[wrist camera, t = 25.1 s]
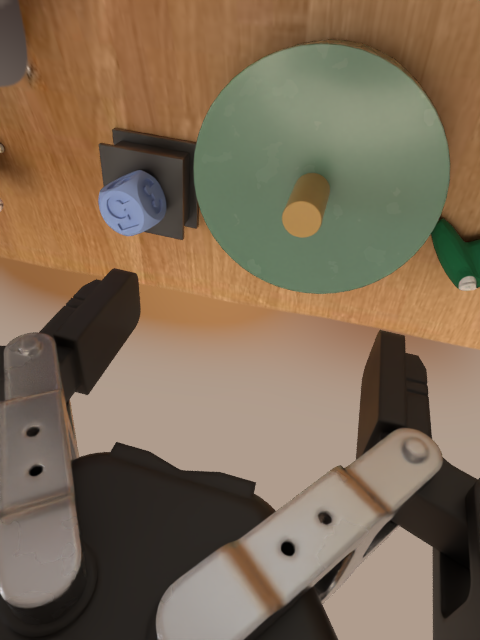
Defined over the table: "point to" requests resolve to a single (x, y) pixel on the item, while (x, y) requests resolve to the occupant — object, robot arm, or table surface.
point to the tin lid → (321, 168)
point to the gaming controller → (457, 256)
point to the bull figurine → (0, 203)
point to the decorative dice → (132, 203)
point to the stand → (157, 174)
